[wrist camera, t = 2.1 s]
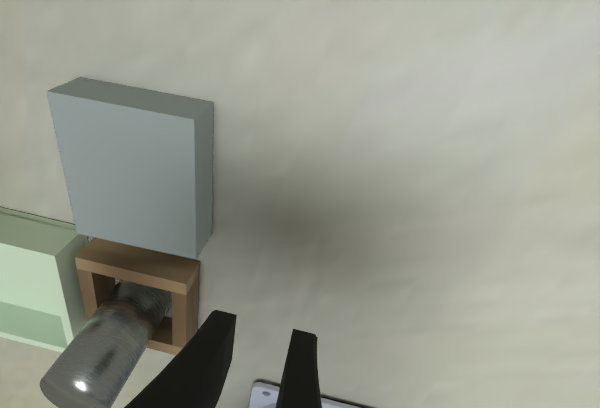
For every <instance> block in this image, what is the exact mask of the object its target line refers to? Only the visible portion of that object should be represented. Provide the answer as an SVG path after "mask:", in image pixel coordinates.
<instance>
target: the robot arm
mask: <svg viewBox="0 0 600 408" xmlns="http://www.w3.org/2000/svg"><path fill="white" fill-rule="evenodd" d="M236 316H237V315H235V314H231V313H227V312H222V311H218V310H215V311H213V312H211V314H210V315H209V317H208V318H207V319H206V321H205V322H204V323H203V325H202V326H201V327H200V328H199V330H198V331H197V332H196V333H195V335H194V336H193V337H192V338H191V339H190V341H189V342H188V343H187V344H186V345H185V346H184V348H183V349H182V350H181V351H180V352H179V353H178V354H177V355H176V356H175V357H174V358H173V360H172V361H171V362H170V363H169V364H168V365H167V366H166V367H165V368H164V369H163V370H162V371H161V372H160V374H159V375H158V376H157V377H156V378H155V379H153V380H152V381H151V382H150V383H149V384H148V385H147V386H146V387H145V388H144V389H143V390H142V391H141V392H140V393H139V394H138V395H137V396H136V397H135V398H134V399H133V400H132V401H131V402H130V403H129V404H128V405H127V406H125V407H124V408H215V407H216V404H217V402H218V400H219V397H220V395H221V392H222V389H223V386H224V383H225V379H226V376H227V373H228V370H229V367H230V364H231V361H232V353H233V344H234V334H235V325H236ZM249 408H360V407H356V406H352V405H348V404H344V403H340V402H336V401H333V400H329V399H325V398H321V397H320V389H319V380H318V369H317V337H316V335H315V334H312V333H308V332H304V331H300V330H296V329H293V332H292V336H291V341H290V345H289V349H288V354H287V358H286V363H285V367H284V372H283V376H282V380H281V385H280V387H277V386H273V385H269V384H265V383H262V382H256V383H254V384H253V387H252V391H251V397H250V404H249Z"/></svg>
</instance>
